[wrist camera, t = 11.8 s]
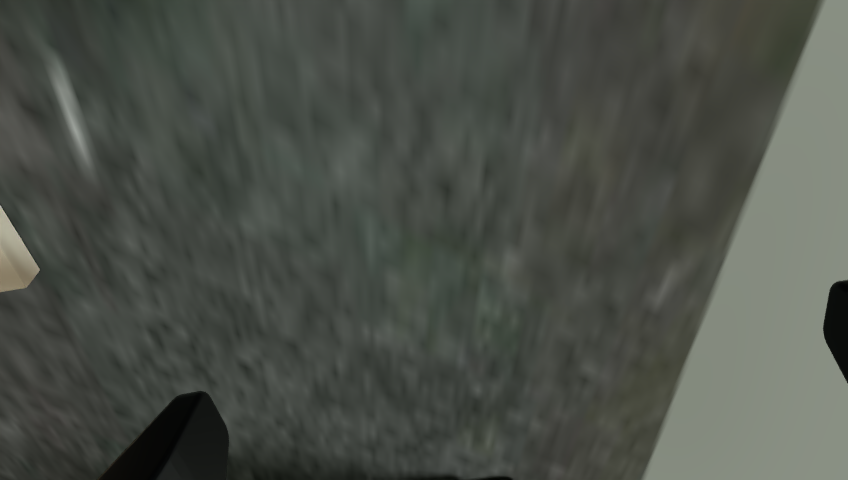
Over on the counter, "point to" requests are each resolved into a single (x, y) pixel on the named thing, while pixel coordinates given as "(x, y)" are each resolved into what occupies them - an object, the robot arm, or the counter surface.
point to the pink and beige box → (14, 258)
